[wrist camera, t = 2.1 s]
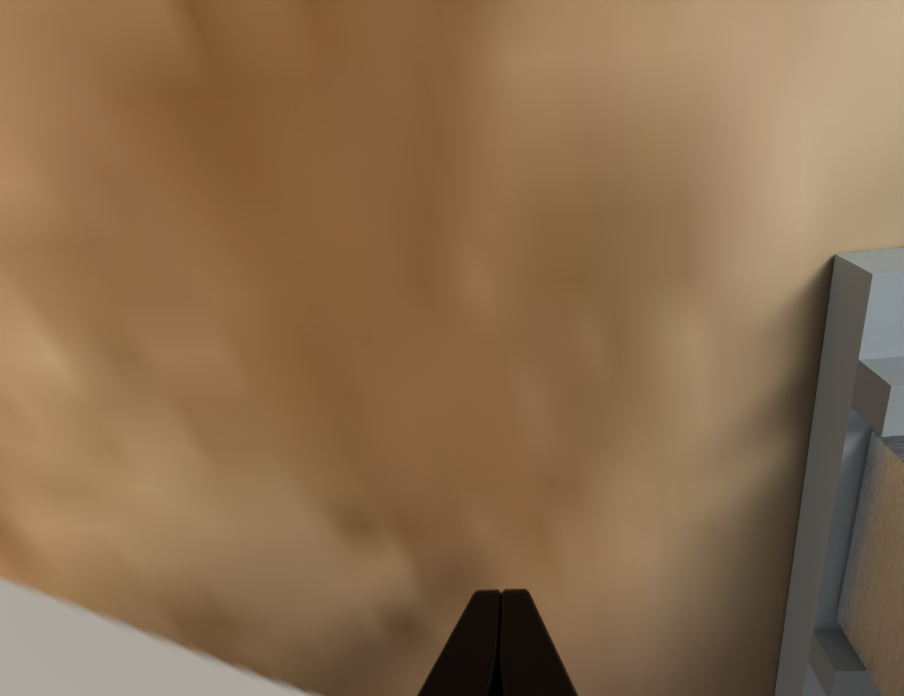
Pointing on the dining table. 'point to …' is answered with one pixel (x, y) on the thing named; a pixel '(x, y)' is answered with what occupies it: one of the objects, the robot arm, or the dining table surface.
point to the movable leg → (878, 568)
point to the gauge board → (842, 467)
